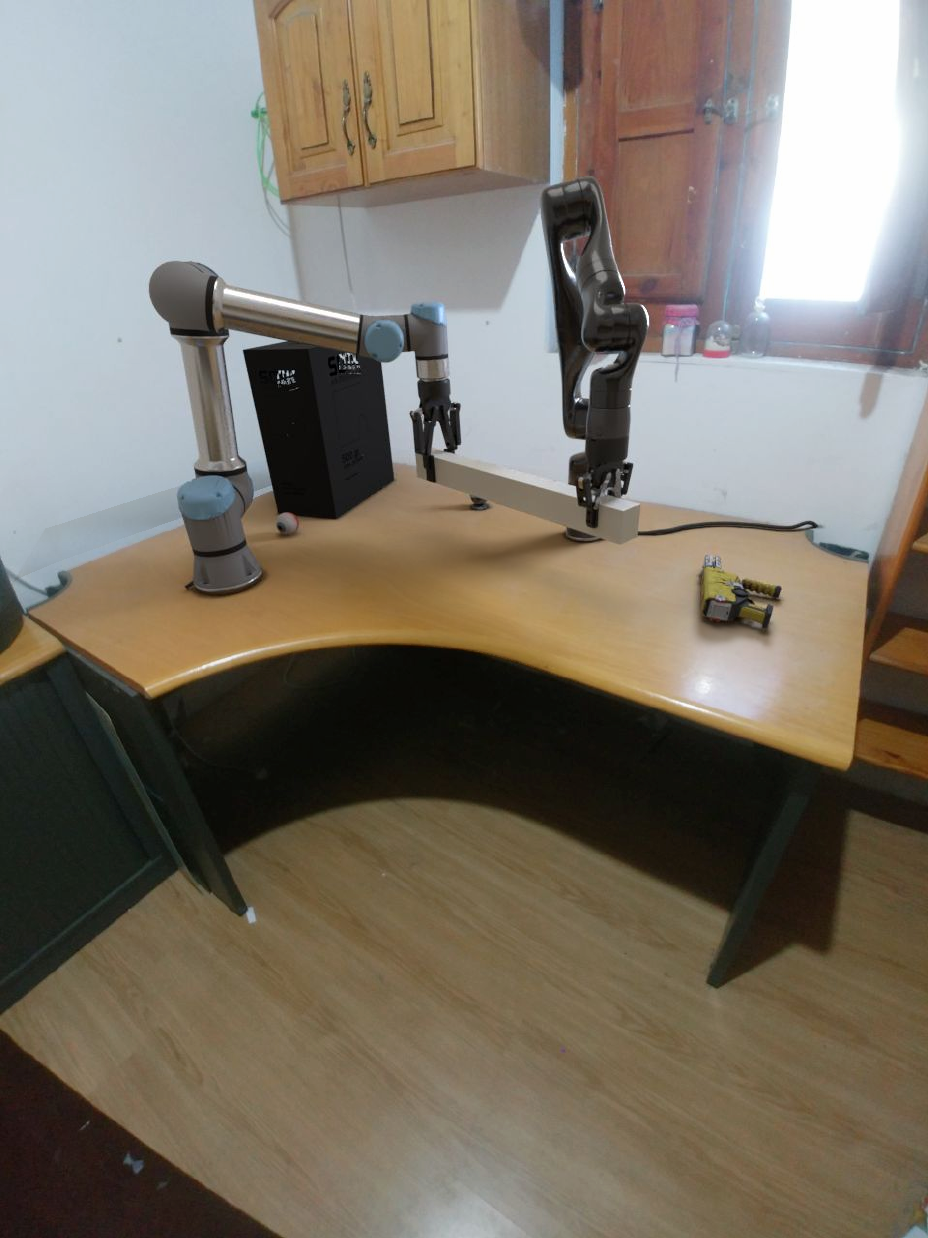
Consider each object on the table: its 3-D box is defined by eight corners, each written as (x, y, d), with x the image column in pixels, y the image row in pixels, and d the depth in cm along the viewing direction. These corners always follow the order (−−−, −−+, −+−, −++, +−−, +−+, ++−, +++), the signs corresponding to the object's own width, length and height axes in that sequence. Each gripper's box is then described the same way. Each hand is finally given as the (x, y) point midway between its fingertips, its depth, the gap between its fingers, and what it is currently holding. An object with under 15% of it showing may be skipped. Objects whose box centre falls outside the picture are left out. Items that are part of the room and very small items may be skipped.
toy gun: (779, 564, 127) (705, 551, 131) (794, 614, 107) (705, 598, 111) (772, 584, 129) (699, 571, 133) (786, 637, 109) (699, 620, 113)
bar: (637, 536, 112) (640, 503, 109) (620, 544, 109) (623, 511, 106) (433, 472, 155) (430, 447, 152) (417, 477, 152) (414, 451, 149)
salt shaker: (488, 509, 173) (486, 468, 167) (468, 509, 175) (466, 468, 169) (491, 503, 178) (490, 462, 172) (471, 502, 180) (470, 462, 174)
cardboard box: (342, 476, 210) (320, 334, 188) (394, 479, 204) (377, 333, 181) (277, 513, 180) (242, 349, 158) (336, 518, 174) (308, 348, 151)
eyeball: (273, 537, 164) (268, 516, 161) (287, 528, 169) (282, 508, 166) (291, 539, 161) (286, 518, 158) (305, 530, 166) (301, 510, 163)
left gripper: (453, 371, 145) (459, 467, 156) (391, 382, 135) (402, 484, 147) (474, 374, 139) (478, 473, 151) (410, 386, 130) (420, 490, 142)
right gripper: (616, 421, 112) (609, 508, 121) (563, 436, 104) (561, 528, 113) (650, 426, 107) (641, 517, 116) (598, 443, 99) (592, 539, 108)
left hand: (440, 478), depth 149 cm, fingers closed on bar, 5 cm apart
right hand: (601, 522), depth 114 cm, fingers closed on bar, 5 cm apart
